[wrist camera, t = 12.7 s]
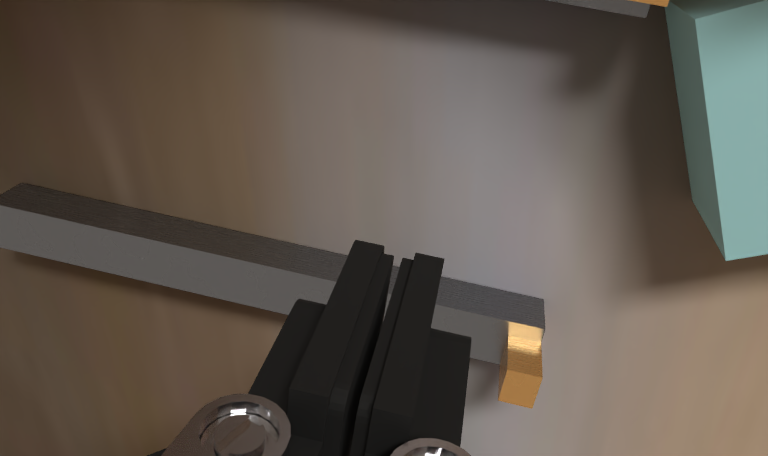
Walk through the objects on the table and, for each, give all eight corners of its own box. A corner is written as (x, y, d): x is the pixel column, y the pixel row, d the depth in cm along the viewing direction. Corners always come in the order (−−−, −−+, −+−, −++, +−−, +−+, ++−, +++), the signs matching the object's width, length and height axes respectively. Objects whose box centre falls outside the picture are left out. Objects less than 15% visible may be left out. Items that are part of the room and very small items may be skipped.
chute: (-25, -177, 22) (-132, -191, 18) (657, -63, 19) (687, -53, 16) (26, 224, 29) (-43, 270, 25) (530, 340, 26) (532, 408, 23)
